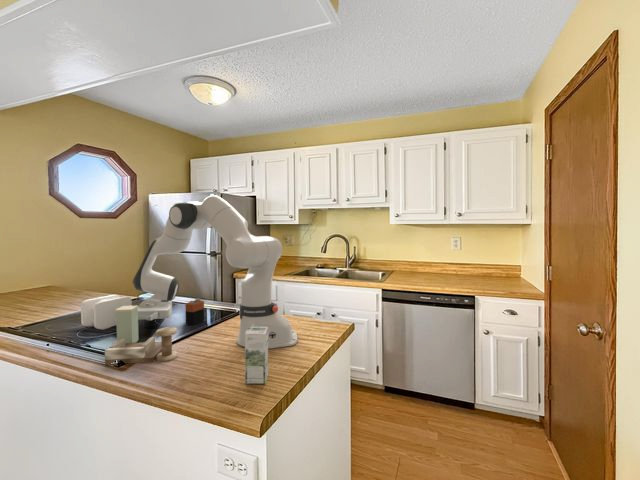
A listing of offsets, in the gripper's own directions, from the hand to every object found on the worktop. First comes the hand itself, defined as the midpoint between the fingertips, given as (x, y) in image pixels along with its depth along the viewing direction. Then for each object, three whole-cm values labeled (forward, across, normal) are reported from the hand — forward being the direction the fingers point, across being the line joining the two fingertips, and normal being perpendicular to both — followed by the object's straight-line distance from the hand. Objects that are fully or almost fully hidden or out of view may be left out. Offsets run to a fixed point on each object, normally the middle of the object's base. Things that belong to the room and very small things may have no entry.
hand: (136, 318), depth 117 cm
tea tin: (+6, 0, +7) cm, 9 cm away
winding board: (+17, +8, +7) cm, 20 cm away
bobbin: (+20, +18, +7) cm, 28 cm away
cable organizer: (-16, -18, +7) cm, 25 cm away
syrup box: (+38, +48, +7) cm, 62 cm away
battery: (-15, +18, +7) cm, 24 cm away
